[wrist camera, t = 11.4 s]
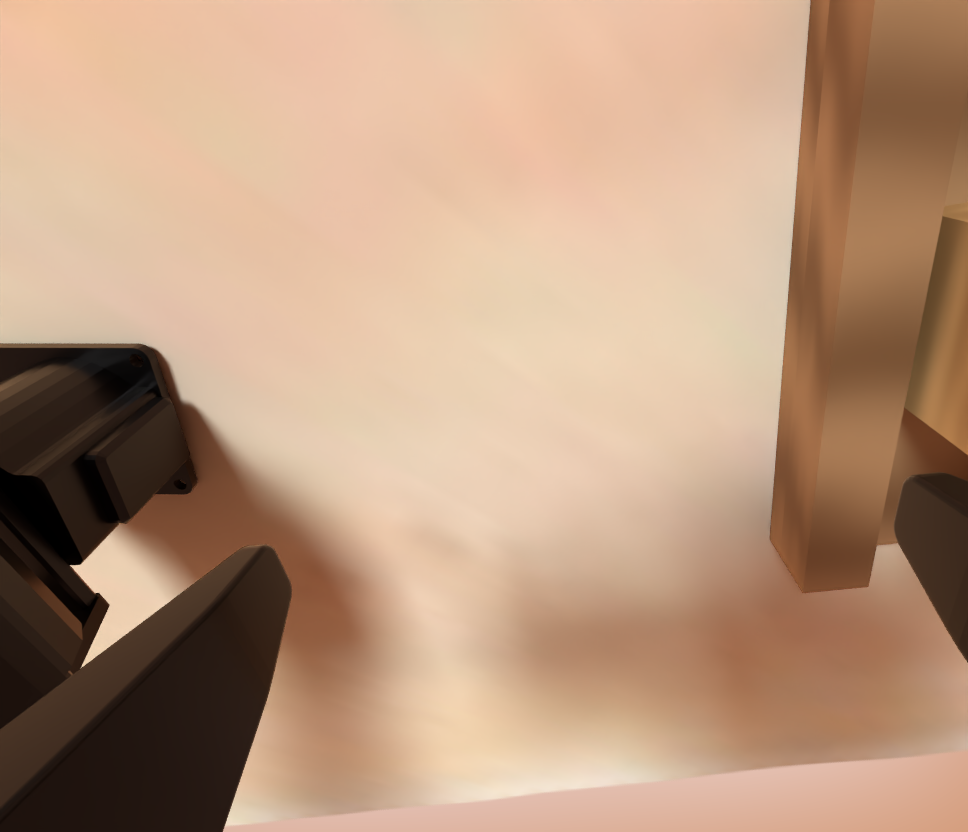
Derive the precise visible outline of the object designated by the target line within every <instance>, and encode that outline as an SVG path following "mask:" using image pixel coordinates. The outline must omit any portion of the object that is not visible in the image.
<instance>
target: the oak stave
mask: <svg viewBox="0 0 968 832" xmlns="http://www.w3.org/2000/svg"><path fill="white" fill-rule="evenodd" d="M904 408H906V409H907V410H908V411H910V412H911V413H912V414H914V415H915V416H916V417H918V418H919V419H920V420H922V421H923V422H924V423H926V424H927V425H928V426H930V427H931V428H932V429H934V430H935V431H936V432H938V433H939V434H940V435H942V436H943V437H944V438H946V439H947V440H948V441H950V442H951V443H952V444H954V445H955V446H956V447H958V448H959V449H960V450H962V451H963V452H964V453H966V454H967V455H968V202H965V203H960V204H954V205H948V206H944V211H943V216H942V221H941V226H940V231H939V236H938V241H937V246H936V251H935V256H934V261H933V266H932V271H931V276H930V281H929V286H928V291H927V296H926V301H925V306H924V311H923V316H922V321H921V326H920V331H919V336H918V341H917V346H916V351H915V356H914V361H913V366H912V371H911V376H910V381H909V386H908V391H907V396H906V401H905V406H904Z"/></svg>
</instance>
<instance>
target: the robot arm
mask: <svg viewBox="0 0 968 832" xmlns="http://www.w3.org/2000/svg"><path fill="white" fill-rule="evenodd" d="M136 355H139V356H140V357H141V358H142V359H143V362H144V363H143V362H141V361H139V360H138V359H137V357H136ZM180 480H182V481H184V482H185V483H186V484H185V483H183V482H181V481H180ZM196 485H197V477H196V474H195V471H194V468H193V465H192V462H191V459H190V454H189V451H188V448H187V445H186V441H185V438H184V435H183V432H182V429H181V426H180V423H179V420H178V417H177V414H176V411H175V408H174V405H173V403H172V402H171V399H170V396H169V393H168V390H167V387H166V384H165V381H164V378H163V375H162V372H161V369H160V366H159V363H158V360H157V357H156V355H155V353H154V352H153V351H152V350H151V349H150V348H149V347H147V346H146V345H143V344H0V832H223V829H224V826H225V824H226V821H227V818H228V815H229V812H230V809H231V806H232V803H233V800H234V797H235V794H236V791H237V788H238V785H239V782H240V779H241V776H242V773H243V770H244V767H245V764H246V761H247V758H248V755H249V752H250V749H251V746H252V743H253V740H254V737H255V734H256V731H257V728H258V725H259V722H260V719H261V716H262V713H263V710H264V707H265V704H266V701H267V697H268V694H269V691H270V687H271V683H272V679H273V675H274V671H275V667H276V662H277V658H278V653H279V649H280V645H281V640H282V636H283V632H284V627H285V623H286V618H287V614H288V610H289V605H290V601H291V595H292V588H291V583H290V580H289V578H288V576H287V574H286V572H285V569H284V567H283V565H282V563H281V561H280V559H279V557H278V555H277V553H276V551H275V549H274V548H273V547H272V546H270V545H267V544H262V545H253V546H246V547H243V548H241V549H239V550H238V551H237V552H235V553H234V554H233V555H231V556H230V557H229V558H227V559H226V560H225V561H223V562H222V563H221V564H219V565H218V566H217V567H215V568H214V569H213V570H211V571H210V572H209V573H207V574H206V575H205V576H203V577H202V578H201V579H199V580H198V581H197V582H195V583H194V584H193V585H191V586H190V587H189V588H187V589H186V590H185V591H183V592H182V593H181V594H179V595H178V596H177V597H175V598H174V599H173V600H171V601H170V602H169V603H167V604H166V605H165V606H163V607H162V608H161V609H159V610H158V611H157V612H155V613H154V614H153V615H151V616H150V617H149V618H147V619H146V620H145V621H143V622H142V623H141V624H139V625H138V626H137V627H135V628H134V629H133V630H131V631H130V632H129V633H127V634H126V635H125V636H123V637H122V638H121V639H119V640H118V641H117V642H115V643H114V644H113V645H111V646H110V647H109V648H107V649H106V650H105V651H103V652H102V653H101V654H100V655H98V656H97V657H96V658H94V659H93V660H92V661H90V662H89V663H88V664H86V665H85V666H84V667H82V668H81V666H82V664H83V662H84V660H85V657H86V655H87V653H88V651H89V649H90V647H91V644H92V642H93V640H94V638H95V636H96V634H97V632H98V629H99V627H100V625H101V623H102V621H103V619H104V616H105V614H106V612H107V610H108V608H109V604H108V603H107V601H106V600H105V599H104V598H103V597H102V596H101V595H100V594H99V593H94V592H93V591H92V590H91V588H90V587H89V586H88V585H87V584H86V583H85V582H84V581H83V579H82V578H81V577H80V576H79V575H78V574H77V573H76V572H75V571H74V569H73V568H72V567H71V566H70V565H80V564H82V562H83V561H84V560H85V559H86V558H87V557H88V556H89V555H90V554H91V553H92V552H93V551H94V550H95V549H96V548H97V547H98V546H99V545H100V544H101V543H102V542H103V540H104V539H105V538H106V537H107V536H108V535H109V534H110V533H111V532H112V531H113V530H114V529H115V528H116V527H117V526H118V525H119V524H126V523H128V522H129V521H130V520H131V519H132V518H133V517H134V516H135V515H136V514H137V513H138V512H139V511H140V510H141V508H142V507H143V506H144V505H145V504H146V503H147V502H148V501H149V500H150V499H151V498H152V497H153V496H154V495H155V494H188V493H190V492H191V491H192V490H193V489H194V488H195V486H196ZM894 533H895V536H896V539H897V541H898V544H899V545H900V547H901V549H902V551H903V552H904V554H905V556H906V558H907V560H908V561H909V563H910V565H911V567H912V569H913V570H914V572H915V574H916V576H917V577H918V579H919V581H920V583H921V585H922V586H923V588H924V590H925V592H926V594H927V595H928V597H929V599H930V601H931V602H932V604H933V606H934V608H935V610H936V611H937V613H938V615H939V617H940V618H941V620H942V622H943V624H944V626H945V627H946V629H947V631H948V632H949V634H950V636H951V637H952V639H953V641H954V642H955V644H956V646H957V647H958V649H959V650H960V652H961V653H962V655H963V656H964V658H965V659H966V661H967V662H968V481H967V480H965V479H962V478H959V477H957V476H954V475H951V474H948V473H944V472H935V473H925V474H916V475H911V476H909V477H907V478H906V479H905V481H904V482H903V485H902V488H901V493H900V497H899V501H898V506H897V510H896V514H895V519H894ZM80 668H81V669H80Z"/></svg>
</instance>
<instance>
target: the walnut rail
mask: <svg viewBox="0 0 968 832" xmlns="http://www.w3.org/2000/svg"><path fill="white" fill-rule="evenodd" d="M965 202H968V0H811V6H810V19H809V32H808V45H807V59H806V72H805V85H804V98H803V111H802V124H801V137H800V150H799V163H798V176H797V189H796V203H795V216H794V229H793V242H792V255H791V268H790V281H789V294H788V307H787V320H786V333H785V346H784V360H783V373H782V386H781V399H780V412H779V425H778V438H777V451H776V464H775V477H774V490H773V504H772V517H771V530H770V540H771V542H772V543H773V545H774V546H775V548H776V550H777V551H778V553H779V555H780V556H781V558H782V560H783V561H784V563H785V565H786V566H787V568H788V570H789V571H790V573H791V575H792V576H793V578H794V579H795V581H796V583H797V584H798V586H799V588H800V589H801V591H802V593H810V592H820V591H830V590H840V589H851V588H861V587H868V586H869V581H870V576H871V571H872V566H873V561H874V556H875V551H876V546H877V545H883V544H893V543H898V541H897V539H896V536H895V533H894V519H895V514H896V510H897V506H898V501H899V497H900V493H901V488H902V485H903V482H904V481H905V479H906V478H907V477H909V476H911V475H916V474H925V473H935V472H944V473H948V474H951V475H954V476H957V477H959V478H962V479H965V480H967V481H968V455H967V454H966V453H964V452H963V451H962V450H960V449H959V448H958V447H956V446H955V445H954V444H952V443H951V442H950V441H948V440H947V439H946V438H944V437H943V436H942V435H940V434H939V433H938V432H936V431H935V430H934V429H932V428H931V427H930V426H928V425H927V424H926V423H924V422H923V421H922V420H920V419H919V418H918V417H916V416H915V415H914V414H912V413H911V412H910V411H908V410H907V409H906V408H904V406H905V401H906V396H907V391H908V386H909V381H910V376H911V371H912V366H913V361H914V356H915V351H916V346H917V341H918V336H919V331H920V326H921V321H922V316H923V311H924V306H925V301H926V296H927V291H928V286H929V281H930V276H931V271H932V266H933V261H934V256H935V251H936V246H937V241H938V236H939V231H940V226H941V221H942V216H943V211H944V206H948V205H954V204H960V203H965Z"/></svg>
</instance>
